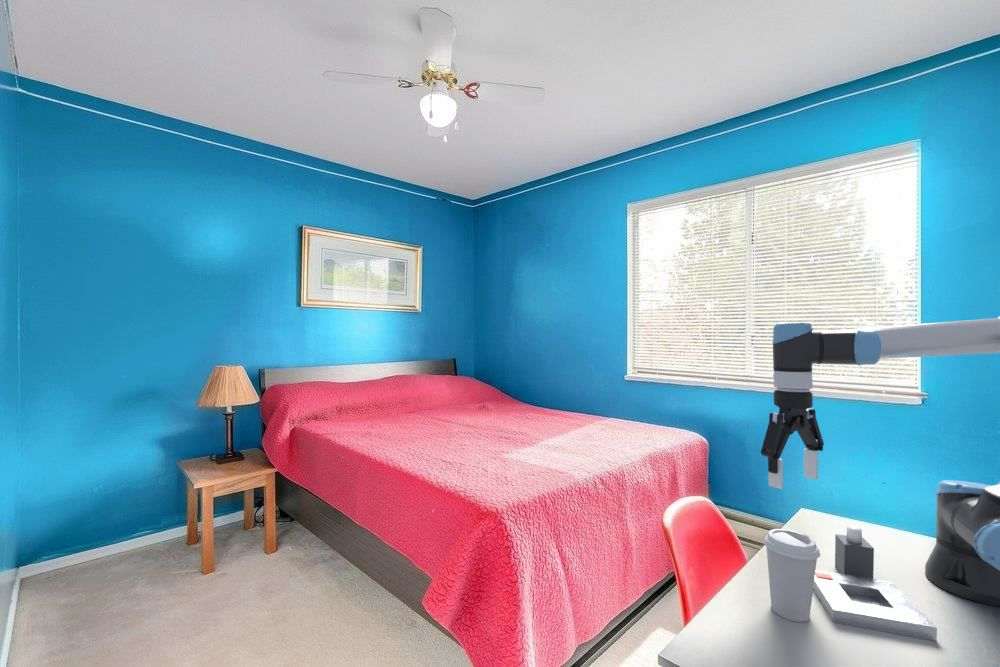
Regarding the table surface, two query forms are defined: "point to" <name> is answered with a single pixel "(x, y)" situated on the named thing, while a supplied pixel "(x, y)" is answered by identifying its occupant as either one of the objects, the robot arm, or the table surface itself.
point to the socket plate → (871, 605)
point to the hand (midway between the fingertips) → (793, 482)
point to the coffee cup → (791, 572)
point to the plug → (854, 554)
